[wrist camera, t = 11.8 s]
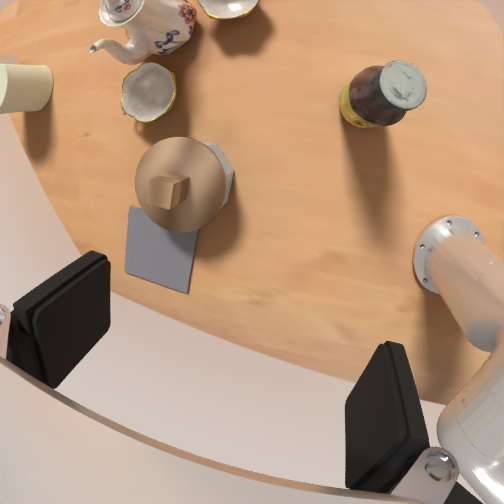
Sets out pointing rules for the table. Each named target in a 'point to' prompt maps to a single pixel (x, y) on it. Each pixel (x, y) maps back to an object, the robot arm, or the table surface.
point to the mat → (158, 252)
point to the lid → (180, 184)
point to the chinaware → (156, 45)
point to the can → (24, 87)
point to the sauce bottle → (382, 94)
